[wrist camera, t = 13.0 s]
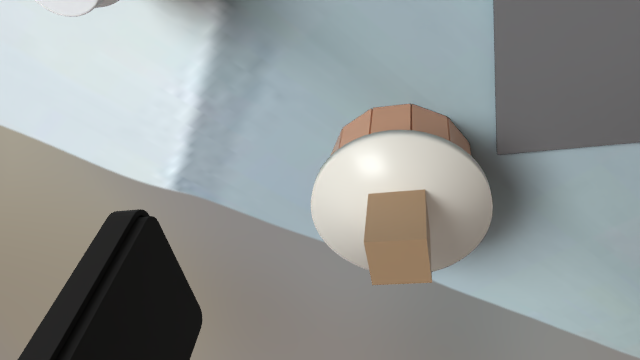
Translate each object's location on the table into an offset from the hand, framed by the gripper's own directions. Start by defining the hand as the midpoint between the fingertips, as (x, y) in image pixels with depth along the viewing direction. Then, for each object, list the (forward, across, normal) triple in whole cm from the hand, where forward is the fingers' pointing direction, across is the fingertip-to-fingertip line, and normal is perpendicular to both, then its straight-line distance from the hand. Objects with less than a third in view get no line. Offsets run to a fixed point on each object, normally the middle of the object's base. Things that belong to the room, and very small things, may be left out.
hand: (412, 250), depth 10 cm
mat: (+30, -12, +12) cm, 35 cm away
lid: (+25, +3, +20) cm, 32 cm away
